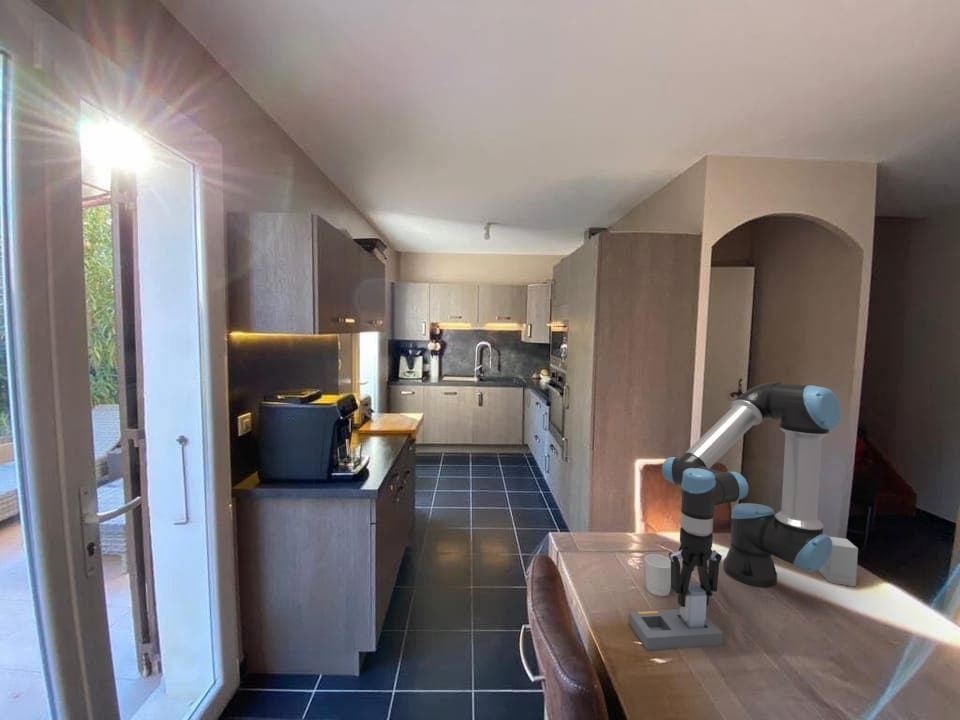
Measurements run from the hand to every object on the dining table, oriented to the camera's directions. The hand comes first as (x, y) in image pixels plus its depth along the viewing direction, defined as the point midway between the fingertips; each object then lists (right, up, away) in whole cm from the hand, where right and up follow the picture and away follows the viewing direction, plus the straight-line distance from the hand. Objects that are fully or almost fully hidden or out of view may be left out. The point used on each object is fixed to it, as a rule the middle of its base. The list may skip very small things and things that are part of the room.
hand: (692, 616), depth 111 cm
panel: (-5, -5, 0) cm, 7 cm away
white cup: (-1, -4, +19) cm, 20 cm away
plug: (0, -4, 0) cm, 4 cm away
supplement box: (+61, -5, +28) cm, 67 cm away
